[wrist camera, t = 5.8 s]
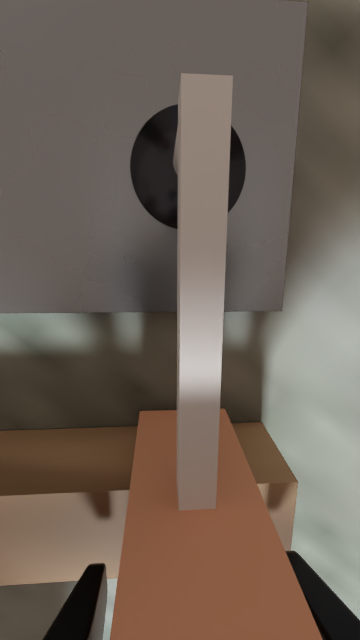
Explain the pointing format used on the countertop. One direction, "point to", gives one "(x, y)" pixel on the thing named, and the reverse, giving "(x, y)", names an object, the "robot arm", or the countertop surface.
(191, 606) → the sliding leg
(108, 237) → the flange plate
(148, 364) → the countertop surface
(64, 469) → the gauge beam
